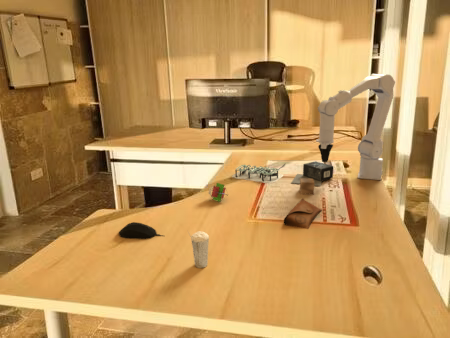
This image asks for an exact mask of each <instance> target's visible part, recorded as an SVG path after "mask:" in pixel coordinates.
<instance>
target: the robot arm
mask: <svg viewBox="0 0 450 338" xmlns="http://www.w3.org/2000/svg"><path fill="white" fill-rule="evenodd" d="M395 84H396V81H395V80H394V77H393V76H392V75H391V74H381V73H380V74H379V73H371V74H369V75H368V76H366V77H365V78H363V80H361V81H359V82H358V83H357V84H356V85H354V86H352V87H351V88H349V89H348V90H345V89H341V90H339V91H337V92H338V93H336V94H335V95H333V96H329V97H328V100H327V99H324V100H322V101H321V102H319V105H318V106H317V111H318V112H319V131H318V132H319V133H318V135H319V136H318V139H316V140H315V142H317V143H318V144H319V145H318V146H317V147H318V150H319V152H320V158H321V163H328V161H329V158H330V153H331V151H332V149H333V147H334V144H333V143H334V142H335V141H334V135H335V133H334V131H335V119H336V118H335V117H336V115H337V113H338V112H339V110H340V109H342V108H343V107H345V106H347V105H348V104H350V103H352V100H353V98H354V97H356V96H358V95H360V94H362V93H363V92H365V91H367V90H371V91H372V92H373V93H374V94H375V95H376V96H377V102H376V105H375V108H374V111H373V115H372V118H371V121H370V124H369V127H368V131H367V133H366V134H364V136H363V137H361V138H362V139H361V140H360V142H359V143H358V146H357V151H358V153H359V156H360V161H359V169H358V173H357V179H362V180H374V181H375V180H376V181H377V180H378V181H381V180H382V175H383V164H384V163H383V162H384V159H383V157H381V156H382V155H383V152H384V151H383V150H384V148H383V146H384V141H383V139H382V133H383V130H384V127H385V124H386V121H387V119H388V118H387V117H388V114H389V113H390V112H389V111H390V108H391V105H392V102H393V99H394V88H395Z"/></svg>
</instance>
